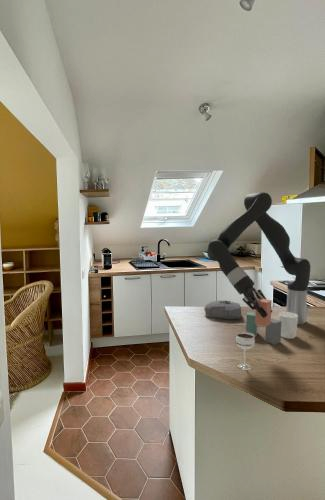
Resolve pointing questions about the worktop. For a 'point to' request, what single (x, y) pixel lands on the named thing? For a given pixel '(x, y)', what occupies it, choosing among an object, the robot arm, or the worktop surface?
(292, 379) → the worktop surface
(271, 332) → the charcoal pillar
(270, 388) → the worktop surface
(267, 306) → the red pillar
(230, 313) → the grey rounded bag
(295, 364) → the worktop surface
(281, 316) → the white cup
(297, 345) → the worktop surface
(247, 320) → the green pillar
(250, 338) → the wineglass
